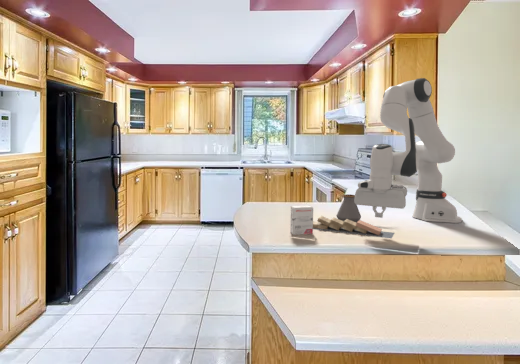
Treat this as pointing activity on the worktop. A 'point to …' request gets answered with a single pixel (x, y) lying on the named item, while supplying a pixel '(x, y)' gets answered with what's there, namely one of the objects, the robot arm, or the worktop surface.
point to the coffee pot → (348, 209)
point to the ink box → (301, 220)
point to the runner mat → (382, 234)
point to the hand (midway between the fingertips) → (378, 217)
